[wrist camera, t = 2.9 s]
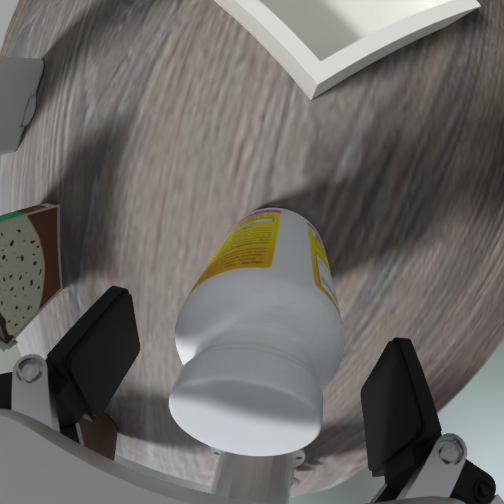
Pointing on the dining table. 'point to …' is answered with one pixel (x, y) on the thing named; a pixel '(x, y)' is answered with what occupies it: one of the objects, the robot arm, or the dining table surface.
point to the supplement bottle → (259, 339)
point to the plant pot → (100, 435)
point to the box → (339, 32)
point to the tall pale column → (17, 98)
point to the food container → (28, 267)
